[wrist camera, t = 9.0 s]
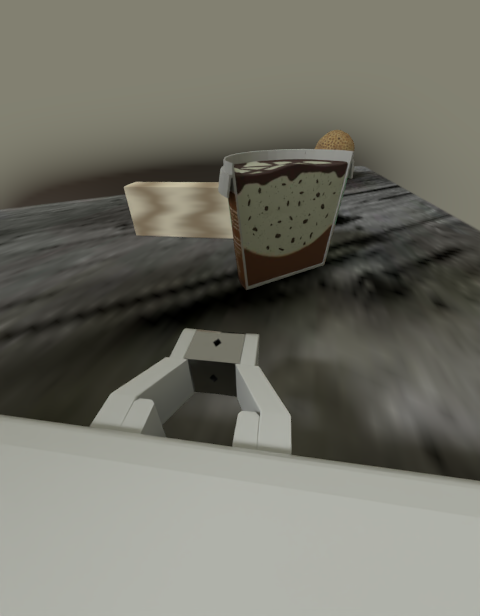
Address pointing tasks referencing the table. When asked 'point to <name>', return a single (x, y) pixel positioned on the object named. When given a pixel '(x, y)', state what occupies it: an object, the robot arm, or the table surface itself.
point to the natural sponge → (336, 141)
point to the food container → (283, 209)
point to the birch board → (179, 209)
